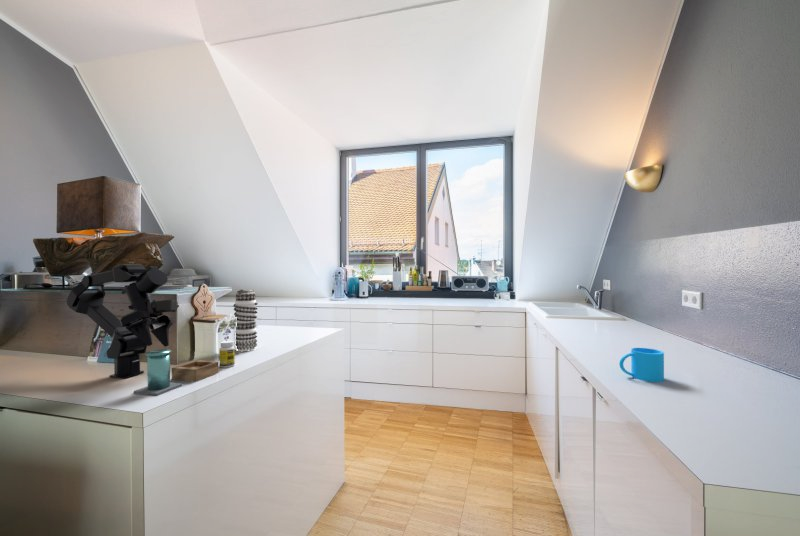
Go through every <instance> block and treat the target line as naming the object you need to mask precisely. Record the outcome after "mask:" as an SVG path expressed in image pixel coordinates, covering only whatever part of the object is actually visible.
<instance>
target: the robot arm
mask: <svg viewBox="0 0 800 536" xmlns="http://www.w3.org/2000/svg"><path fill="white" fill-rule="evenodd" d="M168 279H169V278H168V275H167V274H166V273H165V272H164V271H162V270H160V269H158V266H155V265H154V266H153V265H151V266H148V267H147V268H146V267H145V266H144V265H143V264H141V263H139V264H137V263H131V264H130V263H128V264H127V263H126V264H125V263H124V264H123V263H121V264H118V265H116V266H113V267H112V270H108V271H104V272H98V273H94V274H86V275H84V276H83V277H82V279H81V281H80V282H79V283H77V285H75V286H74V287H73V288H72V289H71V290H70V291H69V294H68V296H67V298H66V305H67V306H68V308H69V309H70V310H72V311H73V312H74V313H77V314H80V315H86V316H87V317H89V318H90V319H91V320H92V321H94V323H96V325H97V326H99V327H100V328H101V329H102V330H103V331H104V332H105V333H106V334H107V335H109V337H111V342H110V346H109V347H108V349H107V350H106V352H105V353H106V358H107V359H110V360H114V361H113V362H114V364H113V365H114V373H113V374H110V375H109V377H110V378H118V379H127V378H131V377H133V376H137V375H140V374H144V372H145V371H144V370H141V360H140V354H146V352H147V347H151V346H152V345H153V340H152V335H151V333H152V334H153V335H154V337H155V338H156V339H157V340H158V342H160V343H161V344H162V346H163V347H165V348H166V347H168V346H169V344H170V343H169V342H170V341H169V335H170V334H169V333H170V331H169V330H170V329H171V327H172V326H173V325H174V324H175V323H176V322H175V318H174V317H173V316H170V315H167V314H164V313H169V312H170V313H171V312H173V313H175V312H177V310H178V308H179V307H180V305H179V304H178V301H176V300H174V299H164V300H157V299H154V298H153V296H152V294H153V293H155V292H157V291H158V290H159V289H161V288H162V287H163V286H164V285H166V283H167V282H168ZM117 283H122V284H123V283H130V284H126V285H124V287H123V289H122V290H121V294H122V295H127V298H128V300H129V303H130V305H128V306H127V308H128V309H129V310H132V311H130V312H129V313H127V314H124V315H122V316H121V317H120V319H119V318H118V317H117V316H116V315H115V314H114V313H112V312H111V311H110V310H109V309H108V308H107V307H105V305H104V298H105V296H106V292H105V289H104V286H105V285H111V284H117ZM93 287H95V288H96V287H97V291H87V290H88V289H89V288H93Z"/></svg>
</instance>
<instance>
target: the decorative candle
mask: <svg viewBox="0 0 800 536" xmlns="http://www.w3.org/2000/svg"><path fill="white" fill-rule="evenodd" d="M234 294H235V301H234V302H235V303H234V304H233V307H234V308H233V311H235V312H234V314H233V315H234V317H237V327H236V326H235V329H236V331H235V333H236V336H235V337H236V339H235V341H236V344H235V345H236V346H237V349H238V351H247V352H249V351H248V350H253V349H256V348H257V349H258V347H257V346H258V339H257V338H258V336H257V334H258V332H257V327H256V324H257V320H258V319H257V318H258V316H257V315H256V314H258V311H257V310H258V307H256V306H257V305H258V302H257V300H256V292H255V291H254V289H251V288H247V289H246V288H245V289H238V290H237V291H236V292H235V293H234ZM257 349H256V350H257ZM253 351H254V350H253Z"/></svg>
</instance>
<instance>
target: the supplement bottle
mask: <svg viewBox="0 0 800 536" xmlns="http://www.w3.org/2000/svg"><path fill="white" fill-rule="evenodd" d="M234 344H235V343H234V340H224V341H221V342H220V348H219V351H218V352H219V354H218V355H219V361H218V367H220V368H226V369H227V368H231V367H233V366H235V359H236V358H235V354H236V353H235V352H236V351H235V349H236V348H235V345H234Z"/></svg>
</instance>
